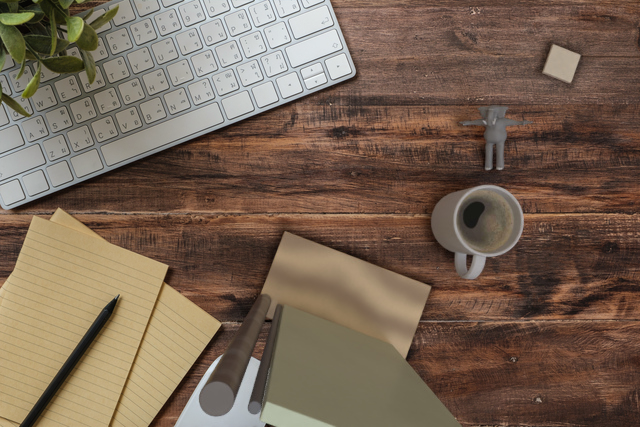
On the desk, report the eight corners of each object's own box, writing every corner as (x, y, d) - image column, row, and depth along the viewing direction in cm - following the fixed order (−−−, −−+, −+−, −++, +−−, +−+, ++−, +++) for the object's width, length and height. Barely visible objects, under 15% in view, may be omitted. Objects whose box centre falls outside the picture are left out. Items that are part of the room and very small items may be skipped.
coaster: (569, 83, 70) (571, 82, 70) (541, 73, 70) (543, 71, 69) (578, 56, 70) (581, 54, 70) (551, 45, 70) (553, 43, 70)
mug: (461, 178, 69) (488, 169, 59) (507, 226, 69) (542, 225, 59) (408, 231, 68) (427, 231, 58) (454, 279, 68) (481, 287, 58)
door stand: (400, 365, 67) (552, 559, 27) (252, 310, 67) (186, 427, 27) (429, 285, 68) (618, 360, 28) (283, 230, 67) (263, 226, 27)
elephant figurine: (452, 172, 69) (451, 108, 66) (467, 162, 73) (467, 102, 70) (525, 176, 63) (527, 107, 60) (537, 165, 67) (539, 100, 65)
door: (386, 360, 66) (507, 533, 28) (271, 318, 65) (236, 435, 28) (392, 344, 66) (521, 494, 28) (277, 301, 66) (251, 395, 28)
